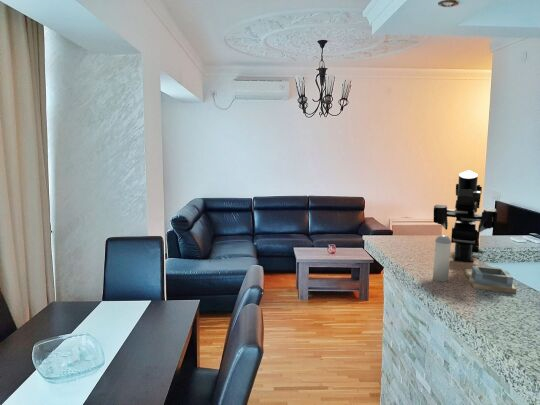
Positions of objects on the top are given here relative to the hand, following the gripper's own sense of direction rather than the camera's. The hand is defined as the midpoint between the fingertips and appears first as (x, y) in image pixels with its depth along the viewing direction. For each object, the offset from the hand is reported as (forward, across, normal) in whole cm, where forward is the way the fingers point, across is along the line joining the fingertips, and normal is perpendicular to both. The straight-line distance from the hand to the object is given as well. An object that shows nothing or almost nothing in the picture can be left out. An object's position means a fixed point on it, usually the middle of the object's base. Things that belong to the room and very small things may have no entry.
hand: (462, 229), depth 124 cm
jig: (+6, +8, +14) cm, 18 cm away
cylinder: (+11, -5, +12) cm, 17 cm away
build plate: (-33, +3, +32) cm, 46 cm away
